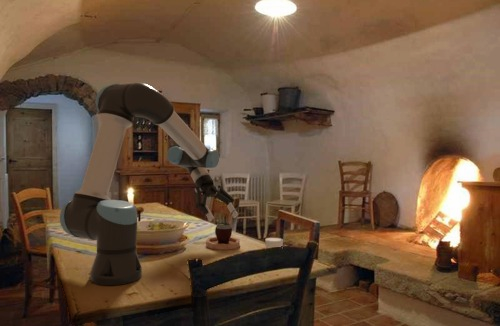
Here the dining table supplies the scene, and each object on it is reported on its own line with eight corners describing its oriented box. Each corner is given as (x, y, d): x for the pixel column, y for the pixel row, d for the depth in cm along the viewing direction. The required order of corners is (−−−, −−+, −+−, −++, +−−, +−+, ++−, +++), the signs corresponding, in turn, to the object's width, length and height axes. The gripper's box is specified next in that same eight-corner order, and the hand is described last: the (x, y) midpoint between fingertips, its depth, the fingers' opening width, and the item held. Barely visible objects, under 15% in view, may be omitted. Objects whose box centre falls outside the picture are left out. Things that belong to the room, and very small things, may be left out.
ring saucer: (219, 252, 151) (219, 246, 151) (199, 244, 161) (199, 239, 161) (246, 246, 160) (246, 241, 160) (225, 239, 171) (225, 235, 171)
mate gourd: (211, 242, 161) (212, 207, 161) (225, 239, 167) (226, 205, 166) (223, 246, 156) (224, 209, 156) (237, 242, 162) (238, 207, 161)
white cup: (281, 260, 141) (282, 242, 141) (263, 259, 143) (263, 240, 143) (283, 255, 148) (284, 237, 148) (266, 254, 150) (266, 236, 149)
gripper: (219, 183, 181) (240, 219, 172) (175, 186, 163) (196, 227, 154) (227, 173, 178) (249, 209, 168) (183, 174, 160) (205, 215, 150)
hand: (224, 218), depth 161 cm, fingers open, 13 cm apart
